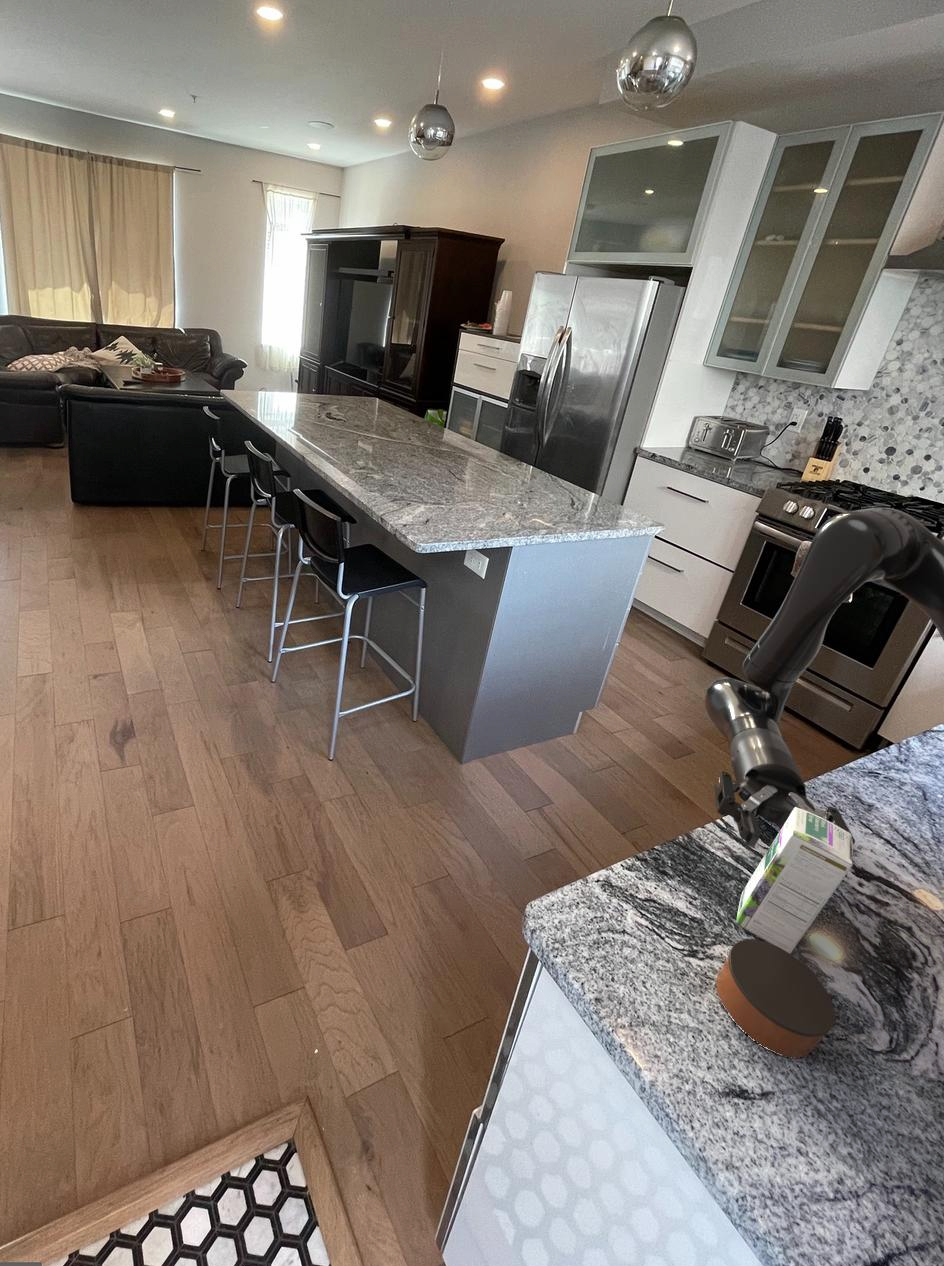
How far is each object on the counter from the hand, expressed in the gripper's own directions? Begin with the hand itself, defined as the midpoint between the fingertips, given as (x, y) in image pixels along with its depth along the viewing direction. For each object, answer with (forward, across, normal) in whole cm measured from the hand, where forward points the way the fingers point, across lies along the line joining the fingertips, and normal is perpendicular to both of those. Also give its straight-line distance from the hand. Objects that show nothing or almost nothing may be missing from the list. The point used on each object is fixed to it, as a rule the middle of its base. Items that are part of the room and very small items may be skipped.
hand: (794, 855), depth 71 cm
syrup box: (+3, 0, +8) cm, 9 cm away
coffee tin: (+14, -3, +8) cm, 17 cm away
